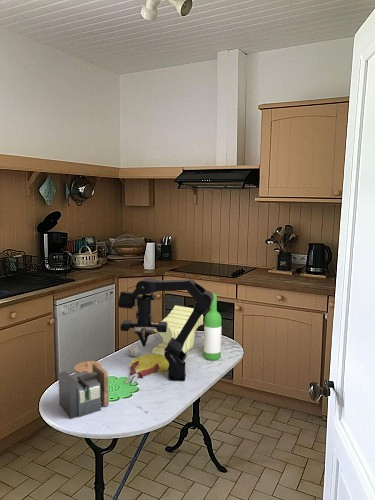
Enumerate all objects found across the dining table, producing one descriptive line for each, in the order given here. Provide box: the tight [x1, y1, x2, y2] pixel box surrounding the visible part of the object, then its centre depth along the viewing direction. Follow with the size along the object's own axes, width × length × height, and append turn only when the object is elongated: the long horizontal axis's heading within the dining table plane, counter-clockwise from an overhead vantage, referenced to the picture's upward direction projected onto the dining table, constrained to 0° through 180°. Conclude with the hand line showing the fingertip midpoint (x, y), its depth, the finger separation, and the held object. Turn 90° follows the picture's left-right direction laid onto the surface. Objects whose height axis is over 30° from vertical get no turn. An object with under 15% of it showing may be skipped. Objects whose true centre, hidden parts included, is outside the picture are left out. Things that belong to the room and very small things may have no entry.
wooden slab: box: [77, 363, 109, 407], centre depth 148 cm, size 9×12×12 cm
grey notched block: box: [58, 371, 102, 420], centre depth 146 cm, size 10×12×12 cm
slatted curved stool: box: [151, 305, 204, 356], centre depth 198 cm, size 30×16×18 cm, turn 152°
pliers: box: [124, 360, 160, 386], centre depth 173 cm, size 12×20×3 cm, turn 162°
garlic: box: [127, 344, 141, 358], centre depth 193 cm, size 6×5×5 cm
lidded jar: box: [73, 360, 103, 374], centre depth 163 cm, size 11×11×9 cm
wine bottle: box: [203, 292, 222, 361], centre depth 190 cm, size 8×8×30 cm
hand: (144, 346), depth 173 cm, fingers closed
